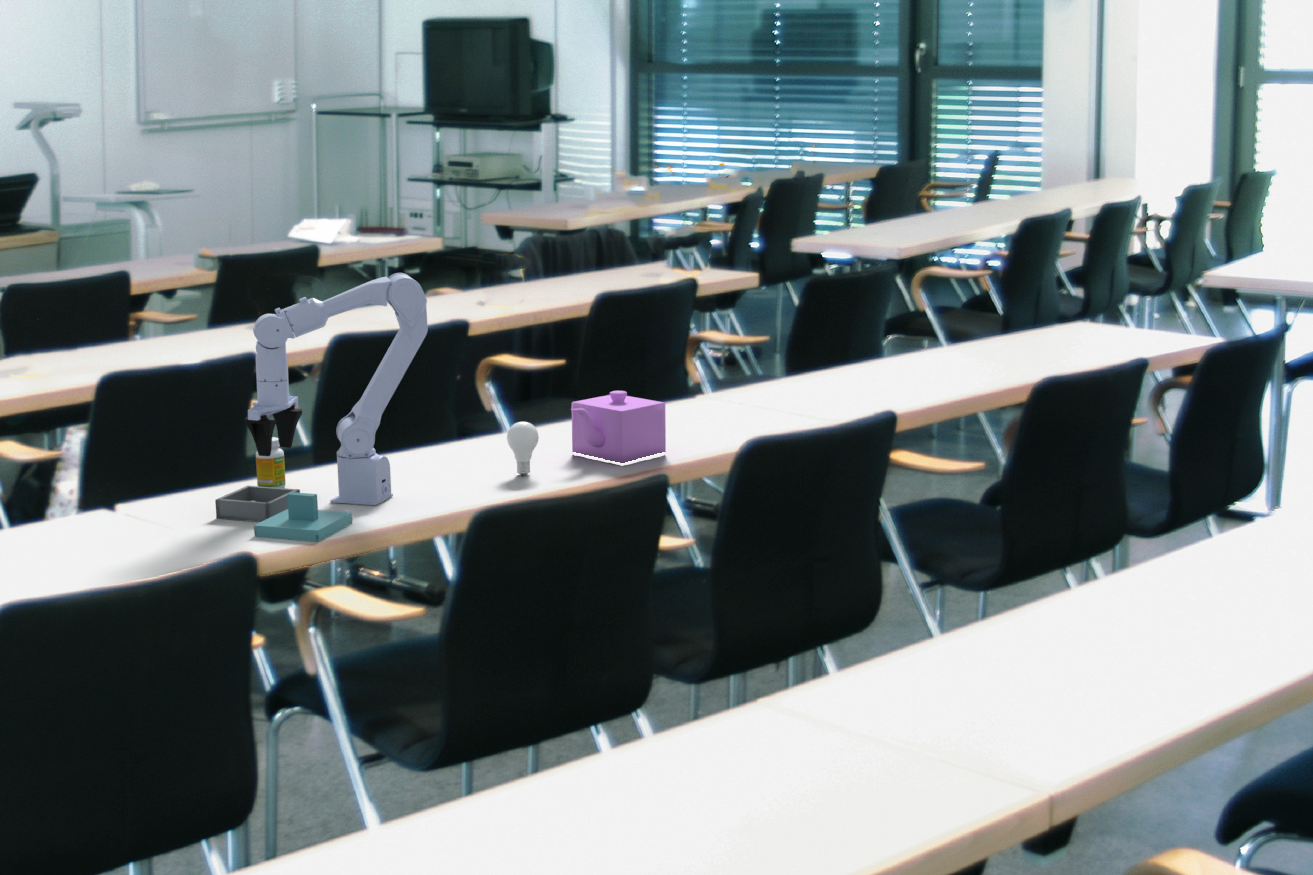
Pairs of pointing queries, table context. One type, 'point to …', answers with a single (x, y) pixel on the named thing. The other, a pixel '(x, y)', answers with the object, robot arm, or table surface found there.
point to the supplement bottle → (271, 467)
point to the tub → (253, 503)
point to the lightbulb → (522, 444)
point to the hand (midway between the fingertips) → (275, 451)
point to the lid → (303, 520)
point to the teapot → (618, 427)
